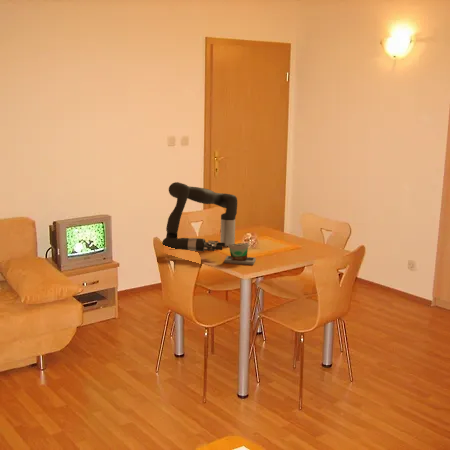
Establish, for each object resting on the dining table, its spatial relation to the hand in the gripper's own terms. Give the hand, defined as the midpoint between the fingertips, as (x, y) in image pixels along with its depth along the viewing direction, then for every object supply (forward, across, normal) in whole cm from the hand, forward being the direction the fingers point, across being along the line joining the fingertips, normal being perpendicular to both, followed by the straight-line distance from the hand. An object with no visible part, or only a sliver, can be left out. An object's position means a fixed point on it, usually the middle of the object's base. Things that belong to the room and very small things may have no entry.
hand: (223, 246), depth 359 cm
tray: (+10, 0, +9) cm, 13 cm away
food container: (+10, 0, +8) cm, 13 cm away
